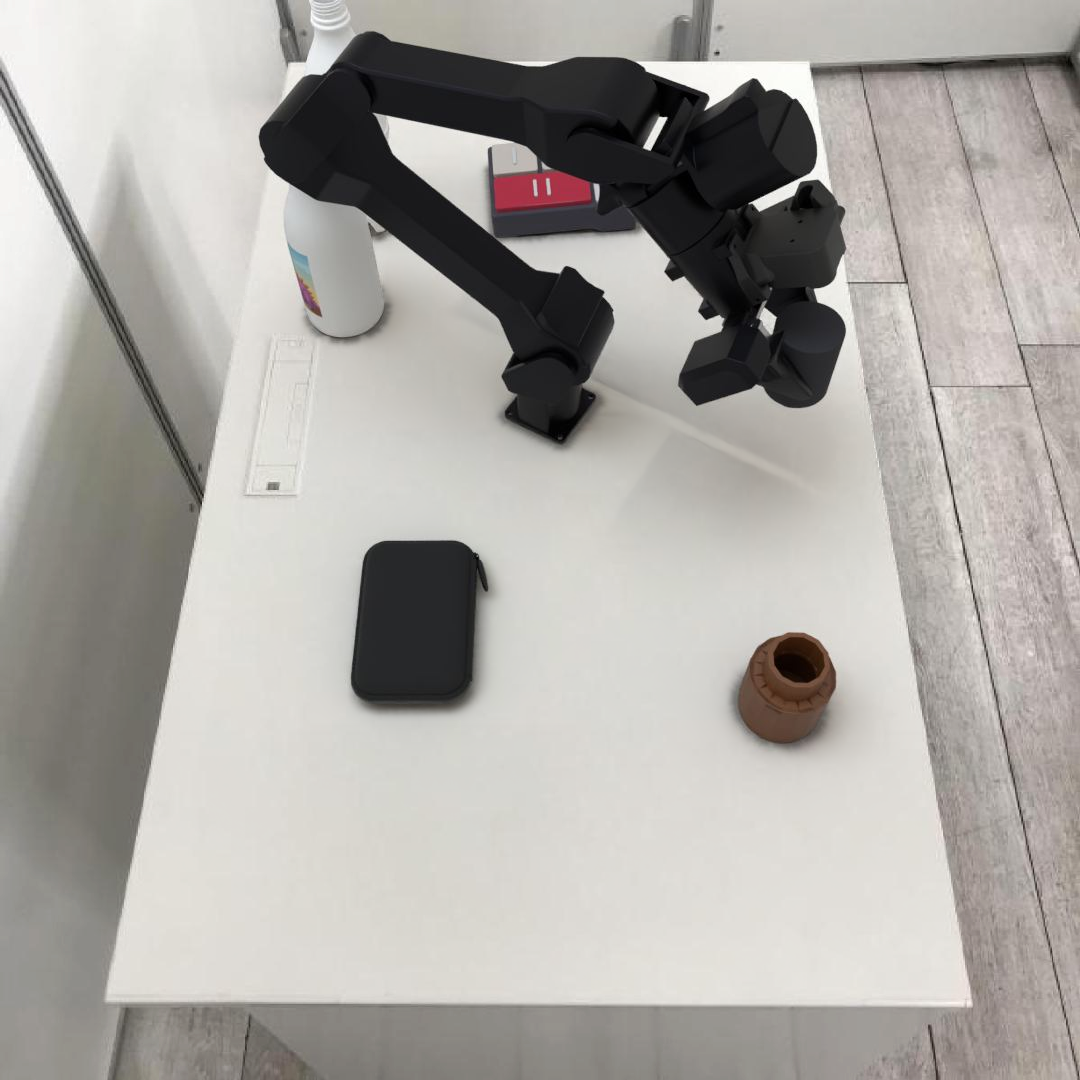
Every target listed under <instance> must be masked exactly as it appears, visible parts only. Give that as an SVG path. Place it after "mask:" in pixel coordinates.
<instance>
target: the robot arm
mask: <svg viewBox="0 0 1080 1080" xmlns="http://www.w3.org/2000/svg"><path fill="white" fill-rule="evenodd" d="M710 99H711V98H710V95H709V94H708V93H707V92H704V91H702V90H699V89H696V88H693V87H692V86H688V85H686V84H683V83H679V82H677V81H674V80H671V79H669V78H665V77H663V76H661V75H658V74H655V73H652V72H650V71H647V69H646V68H645V67H644V66H643V65H642V64H640V63H638V62H636V61H634V60H631V59H629V58H626V57H619V56H575V57H570V58H568V59H564V60H561V61H557V62H553V63H549V64H547V65H537V66H536V65H523V64H518V63H512V62H507V61H502V60H496V59H491V58H486V57H481V56H475V55H470V54H464V53H459V52H454V51H448V50H443V49H437V48H432V47H426V46H421V45H416V44H411V43H405V42H400V41H394V40H391V39H389V38H388V37H387V36H386V35H384V34H383V33H381V32H378V31H375V30H368V31H364V32H363V33H359V34H356V36H355V37H354V38H353V39H352V40H351V42H350V43H349V44H348V45H347V47H346V48H345V49H344V50H343V52H342V53H341V54H340V55H339V57H338V58H337V59H336V60H335V62H334V63H333V64H332V66H331V67H330V68H329V69H328V71H327V72H326V73H324V74H322V75H316V74H310V75H307V76H304V75H303V76H302V77H301V78H300V79H299V80H298V82H297V83H296V84H295V85H294V86H293V87H292V89H291V90H290V92H289V93H288V94H287V95H286V96H285V97H284V99H282V101H281V103H280V104H279V105H278V106H277V107H276V108H275V110H274V111H273V112H272V113H271V115H270V116H269V117H268V119H267V120H266V121H265V122H264V124H263V125H262V126H261V127H260V129H259V133H258V143H259V147H260V150H261V151H262V153H263V156H264V157H263V162H264V163H265V164H266V166H267V167H268V169H269V170H271V171H272V173H273V174H274V175H276V176H277V177H278V178H280V179H281V180H283V181H284V182H286V183H287V184H288V185H289V184H291V185H292V186H294V187H295V188H297V189H299V190H300V191H302V192H304V193H305V194H307V195H308V196H310V197H312V198H313V199H315V200H317V201H322V202H328V203H334V204H341V205H347V206H353V207H356V208H358V209H359V210H361V211H362V212H364V213H365V214H366V215H367V216H369V217H370V218H371V219H372V220H374V221H375V222H376V223H378V224H379V225H380V226H381V227H383V228H384V229H385V231H386V232H388V233H389V234H390V235H392V236H393V237H394V238H395V239H396V240H398V241H399V242H401V244H403V245H404V246H406V247H407V248H408V249H410V250H411V251H412V252H413V253H414V254H416V255H417V256H419V257H420V258H421V259H422V260H424V261H425V262H426V263H427V264H429V266H431V267H433V268H434V269H435V270H436V271H438V272H439V273H440V274H441V275H443V276H444V277H445V278H447V279H448V280H449V281H450V282H452V283H453V284H454V285H456V286H457V287H458V288H459V289H460V290H462V291H463V292H464V293H466V294H467V295H468V296H470V298H472V299H473V300H475V301H476V302H477V303H478V304H480V305H481V306H482V307H484V308H485V309H486V310H487V311H489V312H490V313H491V314H492V315H493V316H495V317H496V318H497V320H498V321H499V324H500V326H501V328H502V330H503V333H504V335H505V337H506V340H507V342H508V345H509V346H510V348H511V351H512V354H511V356H510V358H509V360H508V361H507V364H506V366H505V367H504V369H503V371H502V373H501V375H500V377H501V379H502V381H503V384H504V385H505V387H506V389H507V391H508V392H509V393H512V394H515V395H516V396H515V397H514V399H513V400H512V401H511V402H510V404H509V405H508V406H507V407H506V409H505V410H504V417H505V419H507V420H510V421H511V422H513V423H514V424H517V425H518V426H521V427H523V428H525V429H527V430H529V431H532V432H533V433H536V434H537V435H540V436H542V437H544V438H546V439H547V440H550V441H552V442H554V443H556V444H558V445H562V444H564V443H566V441H567V440H568V439H569V437H570V436H571V434H572V433H573V432H574V430H575V429H576V428H577V426H578V425H579V424H580V423H581V421H582V420H583V419H584V417H585V416H586V414H587V413H588V412H589V410H590V409H591V408H592V407H593V405H594V404H595V403H596V400H597V394H596V393H594V392H592V391H590V390H588V389H586V388H584V387H583V384H586V383H587V381H588V380H589V379H590V377H591V375H592V373H593V372H594V369H595V368H596V365H597V363H598V361H599V359H600V357H601V354H602V352H603V350H604V349H605V346H606V344H607V342H608V340H609V338H610V336H611V334H612V332H613V330H614V326H615V317H614V308H613V307H612V305H611V303H610V302H609V301H608V300H607V299H606V298H605V296H604V295H605V290H604V289H601V288H599V287H597V286H595V285H594V284H592V283H591V282H589V281H588V280H587V279H586V278H585V277H584V276H583V275H582V274H581V273H580V272H579V271H578V270H577V269H576V268H574V267H572V266H570V265H564V266H563V268H562V269H561V271H560V272H554V271H553V272H552V271H545V270H539V269H535V268H534V267H532V266H531V265H530V264H528V263H526V261H524V260H523V259H522V258H521V257H519V256H518V255H517V254H515V253H514V251H512V250H511V249H510V248H508V247H507V246H506V245H505V244H503V243H502V242H501V241H500V240H499V239H498V238H497V237H496V236H494V235H492V234H491V233H490V232H489V231H487V230H486V229H485V228H483V226H481V225H480V224H479V223H477V222H476V221H475V220H474V219H472V217H470V216H469V215H467V213H465V212H464V211H462V209H460V207H458V206H457V205H455V204H454V203H453V202H452V201H450V199H448V198H447V197H445V196H444V195H443V194H442V193H440V192H439V190H437V189H436V188H435V187H433V186H432V185H431V184H429V183H428V182H427V181H426V180H425V179H424V178H422V177H421V176H420V175H418V174H417V173H416V172H415V171H414V170H413V169H411V168H410V167H408V166H407V165H406V164H405V163H403V162H402V161H401V160H400V159H399V158H398V157H397V156H396V155H395V154H394V153H393V151H392V148H391V146H390V144H389V141H388V142H387V139H386V137H385V135H384V133H383V130H382V128H381V126H380V124H379V121H378V119H377V117H376V116H375V115H374V114H373V113H376V114H381V115H385V116H387V117H391V118H396V119H399V120H400V119H401V120H405V121H410V122H416V123H420V124H423V125H424V124H425V125H430V126H435V127H439V128H444V129H449V130H454V131H459V132H464V133H468V134H473V135H478V136H483V137H488V138H491V139H492V138H493V139H497V140H502V141H508V142H510V143H517V144H520V145H523V146H526V147H527V148H528V149H529V150H531V151H532V152H533V153H534V154H535V155H536V156H537V157H538V158H539V159H540V160H541V161H542V162H543V163H544V164H545V165H546V166H547V167H549V168H551V169H554V170H557V171H560V172H562V173H565V174H568V175H571V176H573V177H576V178H579V179H582V180H584V181H587V182H590V183H594V184H599V199H598V205H597V214H598V215H600V216H605V215H607V214H609V213H611V212H613V211H614V210H616V209H618V208H620V207H622V206H625V207H626V209H627V210H628V211H629V212H630V213H631V214H632V216H633V217H634V218H635V219H636V222H637V223H638V224H639V225H640V227H642V229H643V230H644V231H645V232H646V233H647V235H648V236H649V237H650V238H651V239H652V241H653V242H654V243H655V244H656V245H657V246H658V247H659V249H660V250H661V251H662V252H663V254H664V255H665V256H666V257H667V258H668V260H669V261H668V263H667V265H666V267H665V269H664V271H663V273H664V274H665V275H666V276H667V277H668V279H669V280H670V281H671V282H675V281H677V280H680V279H682V278H685V279H686V281H687V282H688V283H689V285H691V286H692V288H693V289H694V290H695V291H696V293H698V295H699V296H700V297H701V298H702V300H701V302H700V305H699V306H698V310H697V312H698V314H699V315H700V316H701V317H702V318H703V319H704V320H705V321H708V320H710V319H714V318H715V317H718V316H720V317H721V319H723V321H722V323H721V329H720V331H718V332H716V333H713V334H711V335H708V336H705V337H702V338H699V339H697V340H695V341H694V342H693V344H692V346H691V348H690V351H689V352H688V354H687V357H686V359H685V361H684V363H683V366H682V368H681V370H680V372H679V375H678V382H677V383H678V384H677V387H678V388H679V389H680V390H681V392H683V394H685V396H686V397H687V398H688V399H689V400H690V401H691V402H692V404H694V406H696V407H699V406H701V405H704V404H708V403H711V402H715V401H717V400H720V399H724V398H727V397H730V396H733V395H737V394H740V393H743V392H747V391H749V390H752V389H753V388H755V387H756V386H759V387H762V388H763V387H765V388H767V389H770V390H773V391H775V392H778V393H781V394H783V395H786V396H788V397H791V398H794V399H796V400H799V401H802V400H806V399H809V398H811V395H812V393H811V391H810V389H809V387H808V386H807V384H806V382H805V380H804V379H803V378H802V376H801V375H800V373H799V372H798V371H797V369H796V368H795V366H794V365H793V364H792V362H791V361H790V359H789V358H788V357H787V355H786V354H785V352H784V351H783V349H782V347H783V343H784V338H785V334H786V330H782V331H779V332H777V333H774V334H773V333H771V332H769V330H768V329H767V328H766V327H765V326H764V322H763V321H762V320H761V319H760V317H761V315H762V313H763V311H764V309H765V310H766V311H768V312H769V313H770V314H772V315H773V316H774V317H775V318H777V316H778V314H779V313H780V312H781V310H782V309H784V308H785V307H787V306H788V305H790V304H793V303H796V302H801V301H813V302H818V299H817V298H818V297H817V295H816V292H815V290H817V289H822V288H825V287H828V286H829V285H831V284H832V283H833V282H834V281H835V279H836V277H837V274H838V268H839V266H840V262H841V260H842V257H843V256H844V255H845V254H846V251H847V246H846V242H845V238H844V237H845V236H844V234H843V230H842V227H841V225H842V223H843V220H844V217H845V215H846V208H845V207H844V206H842V205H839V204H838V200H837V199H836V197H835V195H834V194H833V192H831V191H830V190H829V188H827V187H826V185H825V184H824V183H823V182H822V181H821V180H820V179H818V178H817V179H810V180H802V181H800V182H799V184H798V186H797V188H796V190H795V192H794V195H792V196H790V197H788V198H785V199H783V200H781V201H779V202H777V203H774V204H773V205H770V206H768V207H766V208H764V209H762V210H759V209H758V208H757V207H756V205H754V204H753V202H755V201H757V200H759V199H761V198H763V197H765V196H768V195H769V194H771V193H774V192H776V191H778V190H780V189H782V188H784V187H785V186H788V185H789V184H792V183H794V182H796V181H798V180H799V179H802V178H804V177H806V176H808V175H810V174H811V173H812V172H813V170H814V169H815V167H816V165H817V160H818V159H817V158H818V143H817V137H816V133H815V129H814V127H813V124H812V121H811V119H810V117H809V114H808V113H807V111H806V110H805V108H804V107H803V105H802V103H801V102H800V101H799V100H798V98H796V97H795V98H792V97H791V96H790V95H789V94H788V93H786V92H785V91H783V90H782V89H775V88H772V89H768V90H766V89H765V88H764V86H763V84H762V83H761V82H760V81H759V79H757V78H754V77H752V78H750V79H749V80H747V81H745V82H744V83H742V84H741V85H739V86H738V87H737V88H736V89H735V90H734V91H732V93H731V94H730V95H728V96H726V97H725V98H722V99H721V100H720V101H718V102H717V103H715V104H713V105H711V106H710V107H708V104H709V102H710V101H711V100H710ZM707 107H708V108H707ZM659 118H666V119H665V122H664V123H663V125H662V127H661V129H660V131H659V133H658V134H657V137H656V139H655V141H654V143H653V145H652V146H651V149H647V148H644V147H645V145H646V143H647V142H648V139H649V137H650V135H651V133H652V132H653V130H654V129H655V126H656V124H657V122H658V121H659Z"/></svg>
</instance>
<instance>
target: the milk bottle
mask: <svg viewBox="0 0 1080 1080" xmlns="http://www.w3.org/2000/svg"><path fill="white" fill-rule="evenodd" d="M282 217H283V218H282V219H283V220H282V221H283V230H284V236H285V239H286V243H287V248H288V252H289V255H290V259H291V262H292V267H293V270H294V273H295V277H296V279H297V284H298V287H299V290H300V294H301V297H302V300H303V301H302V302H303V304H304V307H305V310H306V313H307V316H308V319H309V322H310V323H311V324H312V325H313V326H314V327H315V328H316V329H317V330H318V331H319V332H321V333H323V334H325V335H328V336H331V337H337V338H351V337H356V336H358V335H362V334H364V333H365V332H368V331H369V330H371V329H372V328H373V327H374V326H375V325H377V323H378V322H379V320H380V319H381V317H382V315H383V312H384V309H385V299H384V293H383V289H382V284H381V283H382V282H381V278H380V277H381V276H380V273H379V268H378V264H377V257H376V253H375V248H374V243H373V239H372V234H371V229H370V226H369V223H368V222H367V218H366V214H365V213H364V212H362V211H361V210H359V209H358V208H356V207H353V206H347V205H341V204H334V203H328V202H322V201H317V200H315V199H313V198H312V197H310V196H308V195H307V194H305V193H304V192H302V191H300V190H299V189H297V188H295V187H294V186H292V185H291V184H289V183H288V191H287V195H286V198H285V201H284V205H283V215H282Z"/></svg>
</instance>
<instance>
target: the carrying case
mask: <svg viewBox="0 0 1080 1080" xmlns="http://www.w3.org/2000/svg"><path fill="white" fill-rule="evenodd" d="M478 577H479V581H480V583H481V586H482V589H483V591H484V592H485V593H488V591H489V582H488V578H487V577H488V576H487V573H486V568H485V566H484V563H483V561H482V560H481V559H480V555H479V554H478V553H477V552H475V551H474V550H473V549H472V548H471V547H470V546H468V545H467V544H466V543H464V542H462V541H459V540H454V539H451V540H450V539H447V540H446V539H445V540H443V539H442V540H439V539H438V540H437V539H436V540H431V539H430V540H382V541H379V542H376V543H374V544H373V545H372V546H370V547H369V548H368V549H367V551H365V553H364V556H363V560H362V566H361V575H360V585H359V595H358V604H357V614H356V624H355V632H354V634H355V635H354V642H353V650H352V651H353V652H352V659H351V660H352V661H351V671H350V686H351V689H352V691H353V692H354V694H355V695H356V697H357V698H358V699H360V700H361V701H363V702H364V703H368V704H449V703H453V702H456V701H457V700H459V699H460V698H462V697H463V696H465V694H466V693H467V692H468V690H469V689H470V687H471V684H472V682H473V679H474V678H473V676H474V674H473V673H474V671H473V670H474V652H475V651H474V650H475V649H474V648H475V632H476V631H475V630H476V629H475V628H476V609H477V586H478Z"/></svg>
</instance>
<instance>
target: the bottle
mask: <svg viewBox="0 0 1080 1080" xmlns="http://www.w3.org/2000/svg"><path fill="white" fill-rule="evenodd" d="M836 688H837V671H836V669H835V665H834V663H833V661H832V659H831V657H830V654H829V652H828V650H827V649H826V648H825V646H824V645H823V643H822V642H821V640H819V639H817V638H815V637H814V636H812V635H810V634H808V633H806V632H797V631H796V632H795V631H794V632H793V631H792V632H791V631H790V632H789V631H788V632H786V633H783V634H782V635H781V634H780V635H778V636H773V637H769V638H767V639H766V640H765V641H764V642H762V643H760V644H759V645H758V646H757V647H756V648H755V650H754V652H753V654H752V655H751V657H750V659H749V661H748V664H747V667H746V670H745V673H744V675H743V679H742V680H741V684H740V687H739V689H738V697H737V705H738V711H739V714H740V717H741V719H742V721H743V722H744V724H745V725H746V727H748V729H749V730H750V731H751V732H753V733H754V734H755V735H757V736H758V737H760V738H762V739H764V740H765V741H769V742H772V743H778V744H789V743H793V742H796V741H799V740H801V739H804V738H805V737H806V736H808V735H809V734H810V733H811V732H812V731H813V730H814V729H815V728H816V726H817V724H818V722H819V721H820V718H821V716H822V714H823V713H824V711H825V709H826V707H827V706H828V704H829V703H830V700H831V698H832V696H833V694H834V692H835V691H836Z"/></svg>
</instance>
